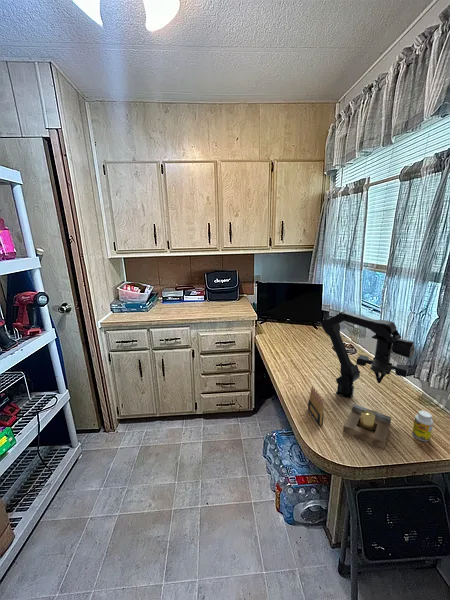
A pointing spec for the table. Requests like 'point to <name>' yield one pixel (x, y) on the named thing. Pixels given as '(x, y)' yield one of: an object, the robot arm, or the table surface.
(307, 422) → the table surface
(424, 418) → the supplement bottle
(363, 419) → the cylinder
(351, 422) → the jig
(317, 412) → the tan upright panel
